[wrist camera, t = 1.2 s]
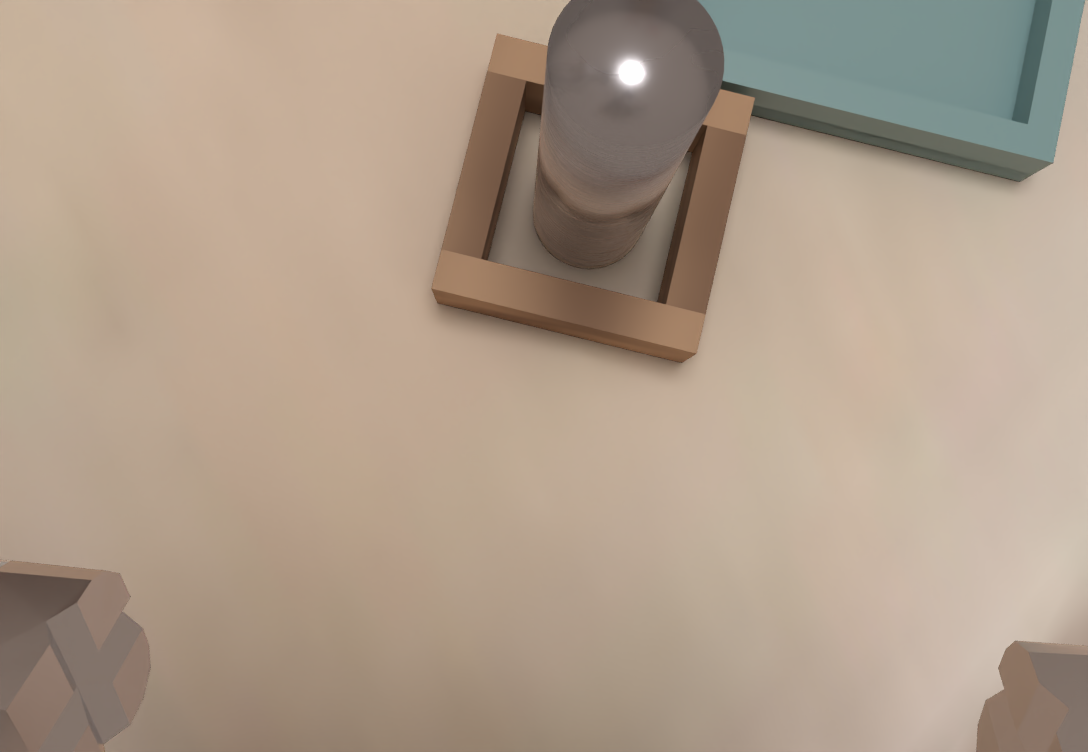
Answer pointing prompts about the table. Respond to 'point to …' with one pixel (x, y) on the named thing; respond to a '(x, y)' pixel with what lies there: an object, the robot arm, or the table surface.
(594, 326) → the collar
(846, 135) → the tray
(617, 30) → the peg
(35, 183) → the table surface
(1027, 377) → the table surface
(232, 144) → the table surface
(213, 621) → the table surface
